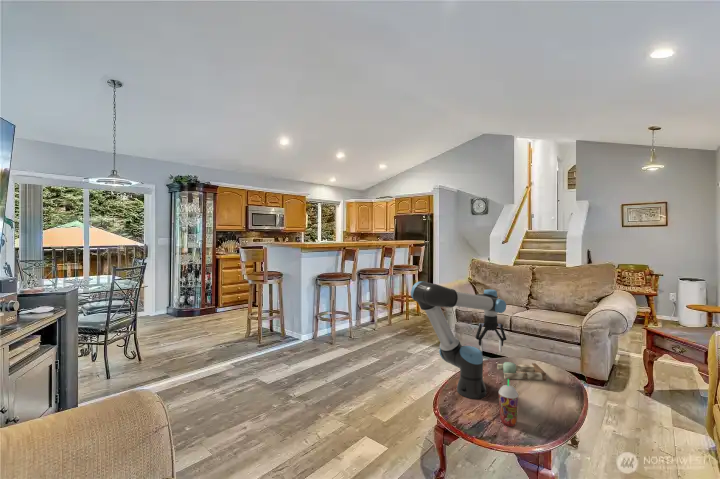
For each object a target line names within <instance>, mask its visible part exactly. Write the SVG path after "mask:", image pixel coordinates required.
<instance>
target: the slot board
mask: <svg viewBox="0 0 720 479" xmlns="http://www.w3.org/2000/svg"><path fill="white" fill-rule="evenodd" d="M496 367H497V370H499V371H500V370H501V371H503V363H497V366H496ZM521 372H522V373H521ZM503 378H504V380H508V379H509V380H525V379H527V380H528V381H529V380H530V381H531V380H532V381H546V380H547V373H546V372H545V371H544V370H543V369H542V368H541V367H540V366H539V365H538V364H537V363H533V362H532V363H531V364H516V373H503Z"/></svg>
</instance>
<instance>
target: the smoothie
mask: <svg viewBox="0 0 720 479" xmlns="http://www.w3.org/2000/svg"><path fill="white" fill-rule="evenodd" d="M497 393H498V403H499V404H498V405H499V418H500V421H501V424H503V425H504V426H506V427H515V426H516V423H518V422H517V421H518V407H519V393H518V391H517V389H516V388H515V387H514V386H513V385H511V384H510V379H507V384H504V385H502V386H501V387H500V388H499V390H498V392H497Z"/></svg>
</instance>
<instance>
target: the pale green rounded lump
mask: <svg viewBox="0 0 720 479" xmlns="http://www.w3.org/2000/svg"><path fill="white" fill-rule="evenodd" d="M502 364H503V370H502V371H503V374H504V373H517V370H516V365H517V364H516V363H514V362H510V361H504V362H503V363H502Z"/></svg>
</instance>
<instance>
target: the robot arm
mask: <svg viewBox="0 0 720 479" xmlns="http://www.w3.org/2000/svg"><path fill="white" fill-rule="evenodd" d="M410 296H411V299H412V300H413V301H414V302H416V303H418V306H419V308H420V310H422V311H425V314H426V316H427V318H428V320H429V322H430V324H431V326H432V328H433V330H434V332H435V334H436V336H437V339H438V341H439V342H440V343H439V349H438V352H439V356H440V357H441V359H442V360H444V361H445V362H446V363H448V364H451V365H452V366H454V367H456V368H459V369H460V371H459V373H460V374H459V379H458V381H457V385H456V392H457V393H458V394H459V395H461V397H465V398H467V399H483V398H485V397H486V396H487V388H486V384H485V382H484V377H483V376H484V374H483V372H484V358H483V351H484V350H483V347H484V344H483V338H484V337H485V335H486V334H487V332H488V331H489V332H490V331H494V332H495V333H496V335H497V336H498V338H499V340H498V351H499V352H500V353H502V349H503V346H504V341H506V340H507V336H506V333H505V330H504V325H503V324H502V323H498V314H502V313H504V312H505V311H506V309H507V303H506V300H503V299H501V298H498V291H497V290H496V289H492V288H491V289H490V288H489V289H484V290H483V293H479V294H472V293H466V292H462V291H461V292H459V291H456V290H455V289H453V288H448V287H445V286H443V285H439V284H436V283H431V282H427V281H417V282H415V283H414V284H413V285H412V287H411V290H410ZM454 307H459V308H467V309H474V310H481V311H483V314H484V315H483V319H484V320H483V321H484V322H483V323H481V322H479V323H478V328H477V331H476V334H475V336H474V337H475V340H477V341H478V346H479V348H480V349H479V348H477V347H475V346H471V345H462V344H461V342H460V340H459V338H458V337H456V336H454V333H453V331H452V329H451V327H450V325H449V323H448V321H447V319H446V316H445V315H444V312H443V310H442V308H451V309H452V308H454ZM483 327H484V328H483ZM497 327H498V328H499V329H500V332H499V330H498V329H497ZM482 329H483V330H482Z"/></svg>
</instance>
